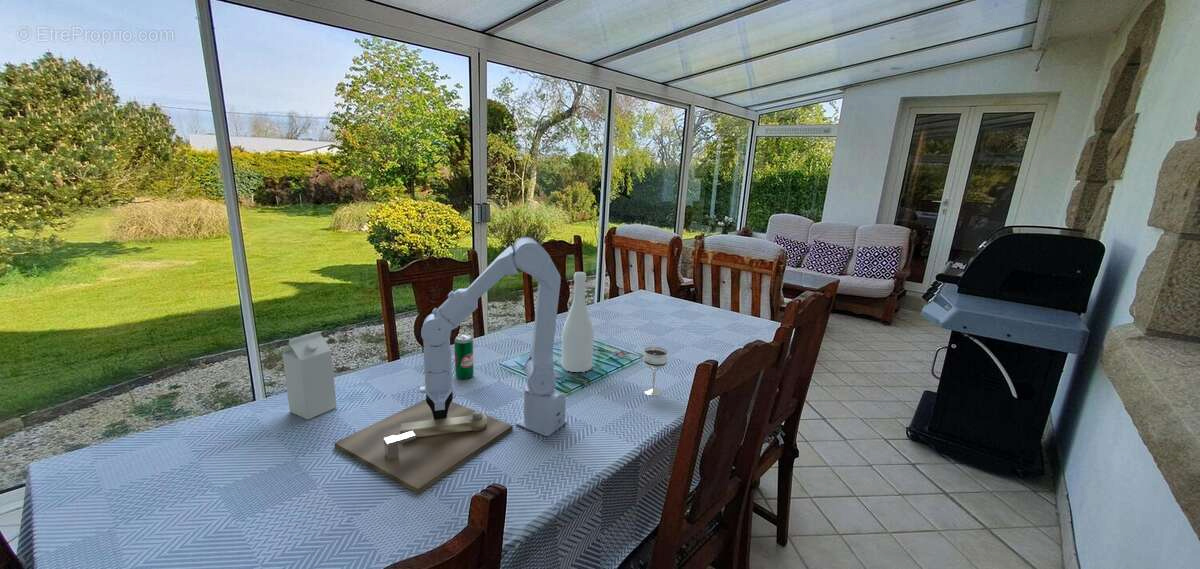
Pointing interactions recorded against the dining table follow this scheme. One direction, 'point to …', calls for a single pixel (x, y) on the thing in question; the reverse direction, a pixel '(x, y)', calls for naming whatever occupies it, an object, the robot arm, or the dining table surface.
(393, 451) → the block
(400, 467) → the base board
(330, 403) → the milk carton
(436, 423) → the swing bar
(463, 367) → the soda can
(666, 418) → the dining table surface
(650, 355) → the wineglass
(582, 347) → the wine bottle
